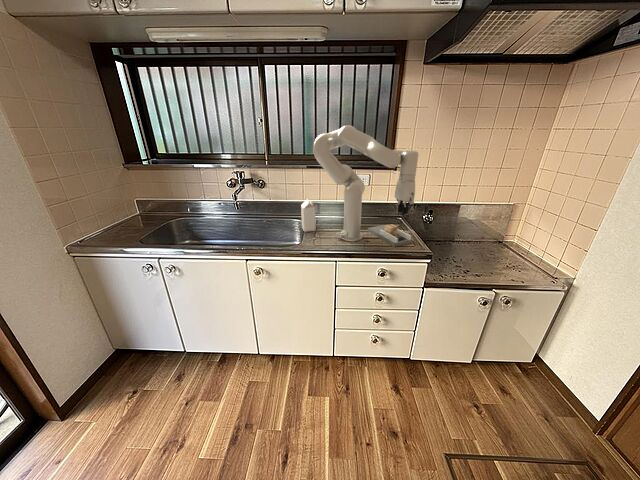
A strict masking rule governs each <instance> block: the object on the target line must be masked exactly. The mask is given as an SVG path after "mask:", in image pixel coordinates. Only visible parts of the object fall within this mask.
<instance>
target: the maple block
mask: <svg viewBox="0 0 640 480" xmlns="http://www.w3.org/2000/svg"><path fill="white" fill-rule="evenodd" d="M384 225H385V224H384ZM398 229H399V228H398V226H397V225H395V224H392V223H391V224H386V225H385V232H387V233H389V234H391V235H393V236H395V235H397V230H398Z"/></svg>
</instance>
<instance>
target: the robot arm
mask: <svg viewBox="0 0 640 480" xmlns="http://www.w3.org/2000/svg"><path fill="white" fill-rule="evenodd" d="M343 146H348V147H350V148H351V149H353V150H356V151H357V152H359V153H361V154H363V155H364V156H366V157H368V158H369V159H372V160H373V161H374V162H376V163H379V164H381V165H383V166H385V167H386V168H389V169H393V168H395V169H396V167H398V166H399V167H400V169H399V177H398V179H397V181H396V185H395V190H394V198H395V200H396V202H397V205H398V207H397V213H401V215H407V214H408V213H409V207H411V205H414V203H415V195H416V174H417V169H418V168H417V167H418V160H419V152H418V151H416V150H397V149H390V148H388V146H387V147H386V146H385V145H383V144H381V143H380V142H378V141H377V140H376V139H375V138H374V137H373V136H371V135H369V134H366V133H364V132H363V131H360V130H359V129H357V128H355V126H353V125H349V124H348V125H343V126H341V127H340V128H339V129H336V130H333V131H331V132H327V133H321V134H319V135H317V137H316V138H315V140H314V142H313V147H312V150H313V155H314V158H315V159H316V161H317V162H318V164H319V165H320V166H321V168H323V170H324V171H325V172H326V173H327V175H328V176H329V177H330V178H331V180H333V182H334V183H335V184H336V185H341V186H342V185H343V186H344V190H343V206H344V207H343V229H341V231H339V232H335V236H336V237H340V238H341V240H343V241H346V242H359V241H361V240H362V239H363V237H364V235H363V234H362V233H361V226H362V225H361V221H362V209H363V208H362V207H363V205H362V201H363V199H362V198H363V193H364V191H365V183H364V182H363V180H362V178H360V177H359V175H358V174H357V173H356V172H355V171H354V169H352V167H350V166H349V165H348V164H342V163H341V162H340V161H339V159H337V157H336V156H335V155H334V154H333V153H332V152H331V150H334V149H337V148H340V147H343Z"/></svg>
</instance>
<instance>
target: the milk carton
mask: <svg viewBox="0 0 640 480" xmlns="http://www.w3.org/2000/svg"><path fill="white" fill-rule="evenodd" d="M300 210H301V211H300V212H301V213H300V214H301V215H300V217H301V228H302V230H303V232H305V233H306V232H315V231H316V207H315V205H314V202H313V201H311V200H309V199H308V198H306V200H304V201H303V203H301V205H300Z"/></svg>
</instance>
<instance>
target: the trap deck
mask: <svg viewBox="0 0 640 480" xmlns="http://www.w3.org/2000/svg"><path fill="white" fill-rule="evenodd" d="M367 232H369V233H370V234H372V235H373V236H376V237H377V238H379V239H380V240H382V241H383V242H385V243H387V244H388V245H390V246H392V247H393V248H394V247H395V248H396V247H399V246H405V245H409V244H412V243H413V239H412V235H411V234H409V233H406V232H405V231H403V230H401V229H399V228H398V230H397V235H395V236H393V235H391V234H389V233H387V232H385V224H383V225H382V224H381V225H376V226H371V227H368V228H367Z"/></svg>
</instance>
